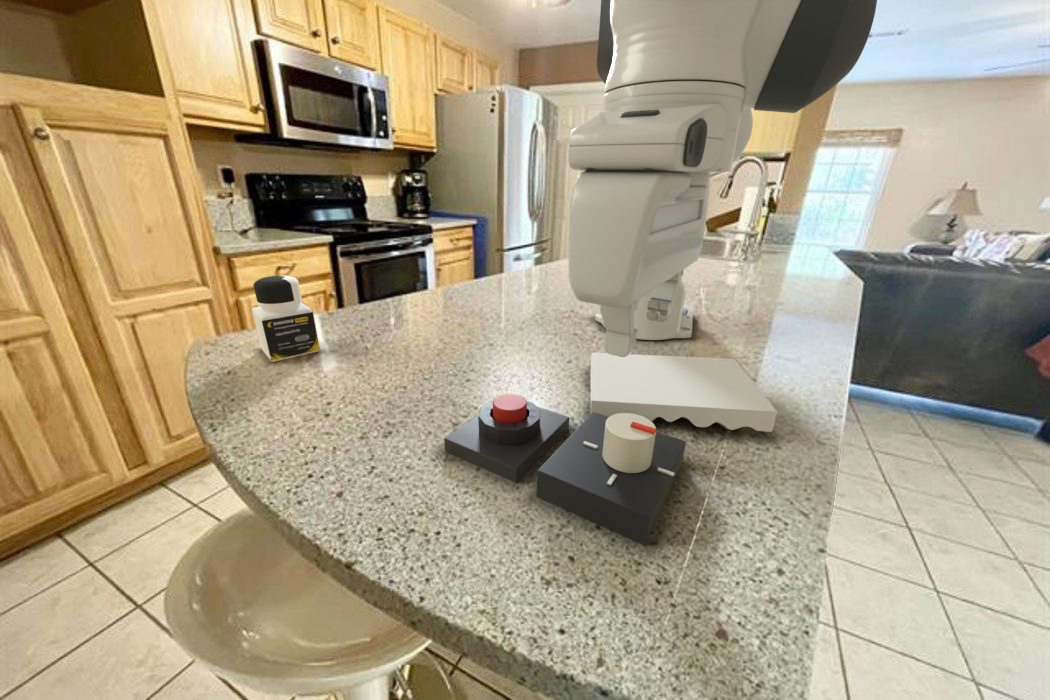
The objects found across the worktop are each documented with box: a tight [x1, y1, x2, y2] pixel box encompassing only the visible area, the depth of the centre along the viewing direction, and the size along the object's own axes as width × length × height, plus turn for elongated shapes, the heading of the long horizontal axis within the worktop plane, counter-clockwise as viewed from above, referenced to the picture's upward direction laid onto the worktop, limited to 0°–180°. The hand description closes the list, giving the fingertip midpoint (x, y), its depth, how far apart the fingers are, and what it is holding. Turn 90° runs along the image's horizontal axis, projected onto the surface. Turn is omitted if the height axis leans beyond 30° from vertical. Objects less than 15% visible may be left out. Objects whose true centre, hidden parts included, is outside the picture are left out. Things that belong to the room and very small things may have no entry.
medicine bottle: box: [251, 275, 321, 363], centre depth 66 cm, size 7×7×12 cm
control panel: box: [536, 412, 687, 546], centre depth 40 cm, size 12×10×3 cm
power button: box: [492, 393, 528, 424], centre depth 45 cm, size 4×4×2 cm
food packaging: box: [589, 352, 778, 433], centre depth 54 cm, size 15×3×20 cm
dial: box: [602, 413, 657, 473], centre depth 38 cm, size 4×4×4 cm
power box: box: [443, 400, 570, 484], centre depth 45 cm, size 11×9×4 cm
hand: (640, 334), depth 34 cm, fingers open, 8 cm apart
